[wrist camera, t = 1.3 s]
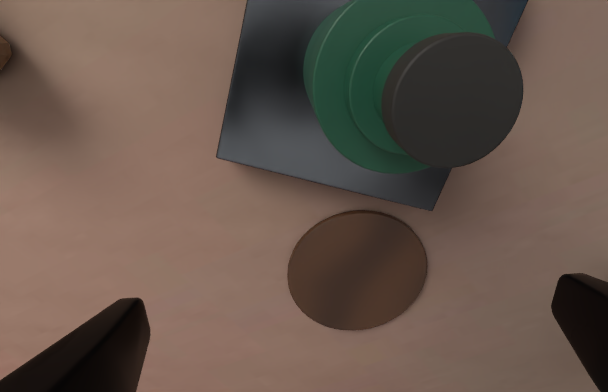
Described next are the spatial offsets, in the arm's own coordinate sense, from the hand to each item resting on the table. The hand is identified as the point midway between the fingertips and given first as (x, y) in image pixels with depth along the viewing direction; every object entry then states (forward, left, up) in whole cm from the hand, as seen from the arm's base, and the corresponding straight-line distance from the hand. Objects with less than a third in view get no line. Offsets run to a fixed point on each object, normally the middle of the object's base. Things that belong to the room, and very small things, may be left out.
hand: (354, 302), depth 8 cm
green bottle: (-1, -4, -12) cm, 12 cm away
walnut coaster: (-5, +8, -14) cm, 16 cm away
